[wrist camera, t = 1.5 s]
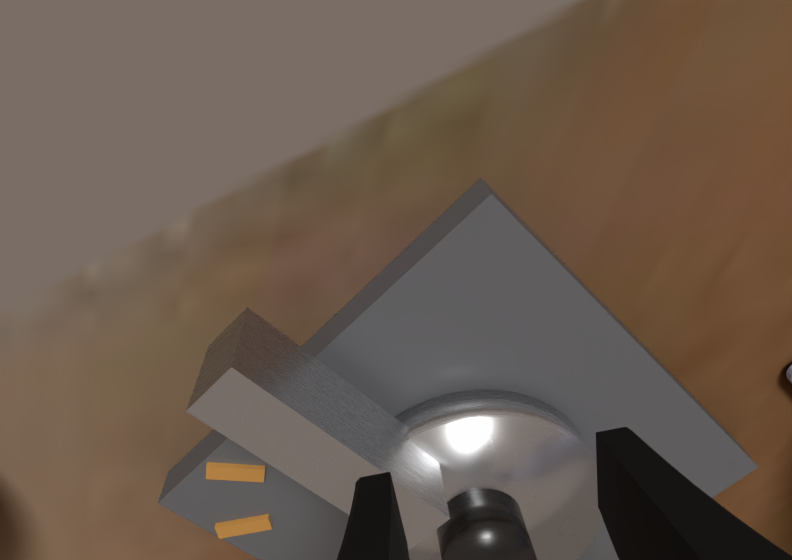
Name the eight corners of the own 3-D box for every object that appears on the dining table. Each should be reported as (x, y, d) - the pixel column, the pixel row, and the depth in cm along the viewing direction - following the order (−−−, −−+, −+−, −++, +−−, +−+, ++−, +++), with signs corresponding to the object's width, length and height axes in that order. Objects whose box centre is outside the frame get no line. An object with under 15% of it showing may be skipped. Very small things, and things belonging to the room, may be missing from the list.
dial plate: (736, 440, 25) (762, 470, 24) (427, 653, 30) (432, 689, 28) (481, 178, 19) (492, 196, 18) (144, 494, 24) (131, 530, 22)
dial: (637, 478, 23) (687, 564, 20) (461, 601, 26) (480, 697, 22) (332, 212, 18) (331, 269, 14) (143, 402, 20) (103, 492, 17)
